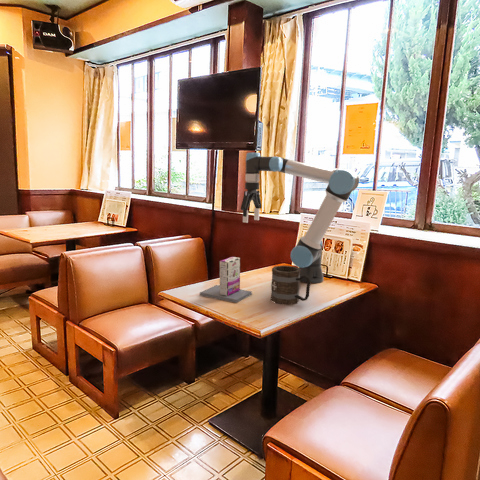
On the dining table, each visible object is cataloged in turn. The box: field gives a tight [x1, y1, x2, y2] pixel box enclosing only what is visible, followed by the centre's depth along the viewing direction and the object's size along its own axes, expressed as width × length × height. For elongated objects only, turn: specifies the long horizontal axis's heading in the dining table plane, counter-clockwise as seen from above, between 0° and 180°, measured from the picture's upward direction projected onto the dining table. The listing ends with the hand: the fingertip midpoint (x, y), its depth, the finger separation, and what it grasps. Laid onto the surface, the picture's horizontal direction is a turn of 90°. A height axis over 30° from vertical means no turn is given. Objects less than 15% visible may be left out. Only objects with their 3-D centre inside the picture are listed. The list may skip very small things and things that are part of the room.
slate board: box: [199, 284, 253, 304], centre depth 194 cm, size 20×15×2 cm
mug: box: [270, 265, 312, 306], centre depth 186 cm, size 20×14×15 cm
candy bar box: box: [219, 256, 241, 296], centre depth 192 cm, size 11×5×16 cm, turn 149°
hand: (251, 221), depth 221 cm, fingers open, 13 cm apart
